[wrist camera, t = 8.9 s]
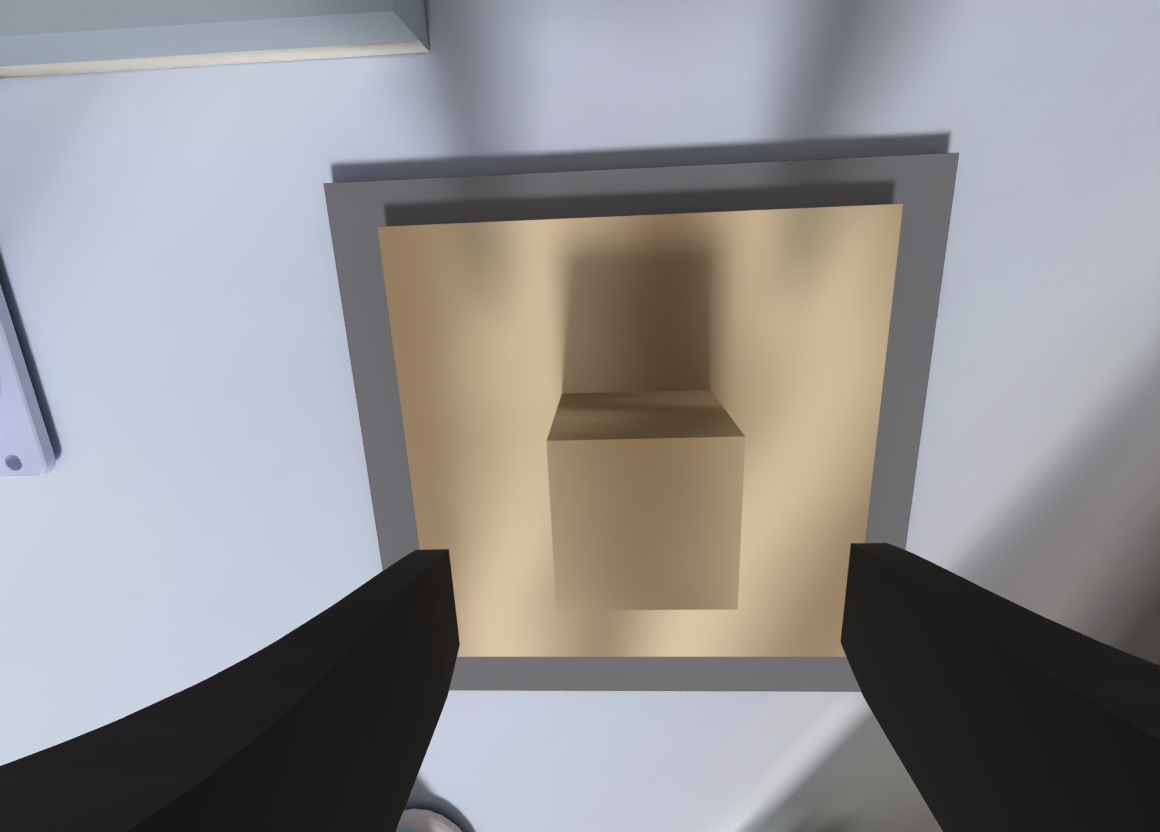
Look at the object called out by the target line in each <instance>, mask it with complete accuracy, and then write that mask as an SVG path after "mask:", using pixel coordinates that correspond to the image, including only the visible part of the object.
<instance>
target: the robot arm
mask: <svg viewBox="0 0 1160 832" xmlns="http://www.w3.org/2000/svg"><path fill="white" fill-rule="evenodd" d="M18 458H19V459H20V460H21V462H22V463H21V462H20V460H19V459H18ZM55 464H56V462H55V456H54V453H53V449H52V446H51V443H50V440H49V437H48V434H47V430H46V427H45V424H44V421H43V418H42V415H41V411H40V408H39V405H38V402H37V399H36V396H35V392H34V389H33V386H32V383H31V380H30V377H29V373H28V370H27V367H26V364H25V361H24V358H23V354H22V351H21V348H20V345H19V342H18V339H17V335H16V332H15V329H14V326H13V323H12V320H11V316H10V313H9V310H8V307H7V304H6V301H5V297H4V294H3V291H2V288H1V285H0V478H2V477H37V476H41V475H44V474H46V473H49V472H51V471H52V470H53V469H54V467H55ZM840 642H841V645H842V647H843V650H844V652H845V655H846V657H847V659H848V662H849V664H850V667H851V669H852V672H853V674H854V676H855V678H856V681H857V683H858V685H859V687H860V690H861V692H862V694H863V696H864V698H865V700H866V702H867V703H868V705H869V707H870V709H871V710H872V712H873V714H874V716H875V717H876V719H877V721H878V722H879V724H880V726H881V728H882V729H883V731H884V733H885V734H886V736H887V738H888V740H889V741H890V743H891V745H892V746H893V748H894V750H895V751H896V753H897V755H898V756H899V758H900V760H901V761H902V763H903V765H904V767H905V768H906V770H907V772H908V773H909V775H910V777H911V778H912V780H913V782H914V783H915V785H916V787H917V788H918V790H919V792H920V793H921V795H922V797H923V799H924V800H925V802H926V804H927V805H928V807H929V809H930V810H931V812H932V814H933V815H934V817H935V819H936V820H937V822H938V824H939V825H940V827H941V829H942V830H943V832H1160V666H1159V665H1156V664H1154V663H1151V662H1149V661H1146V660H1143V659H1141V658H1138V657H1136V656H1133V655H1130V654H1128V653H1125V652H1123V651H1121V650H1118V649H1116V648H1113V647H1111V646H1108V645H1106V644H1104V643H1101V642H1099V641H1097V640H1094V639H1092V638H1090V637H1087V636H1085V635H1083V634H1081V633H1078V632H1076V631H1074V630H1072V629H1069V628H1067V627H1065V626H1063V625H1061V624H1058V623H1056V622H1054V621H1052V620H1049V619H1047V618H1045V617H1043V616H1041V615H1038V614H1036V613H1034V612H1032V611H1030V610H1028V609H1026V608H1023V607H1021V606H1019V605H1017V604H1015V603H1013V602H1011V601H1009V600H1007V599H1005V598H1003V597H1001V596H999V595H996V594H994V593H992V592H990V591H988V590H986V589H984V588H982V587H980V586H978V585H976V584H974V583H972V582H970V581H968V580H966V579H964V578H962V577H960V576H958V575H956V574H954V573H952V572H950V571H948V570H946V569H944V568H942V567H940V566H938V565H936V564H934V563H932V562H930V561H928V560H925V559H923V558H921V557H919V556H917V555H915V554H913V553H910V552H908V551H906V550H904V549H901V548H899V547H896V546H894V545H891V544H888V543H851V547H850V557H849V566H848V575H847V585H846V594H845V604H844V613H843V623H842V632H841V641H840ZM459 646H460V641H459V633H458V624H457V615H456V607H455V598H454V589H453V581H452V572H451V563H450V555H449V549H429V550H415V551H413V552H411V553H409V554H408V555H406V556H404V557H403V558H401V559H400V560H398V561H397V562H395V563H394V564H392V565H391V566H389V567H388V568H387V569H385V570H384V571H382V572H381V573H379V574H378V575H376V576H375V577H374V578H372V579H371V580H369V581H368V582H366V583H365V584H363V585H362V586H361V587H359V588H358V589H356V590H355V591H353V592H352V593H350V594H349V595H347V596H346V597H345V598H343V599H342V600H340V601H339V602H337V603H336V604H334V605H333V606H331V607H330V608H328V609H327V610H325V611H323V612H322V613H320V614H319V615H317V616H316V617H314V618H312V619H311V620H309V621H308V622H306V623H304V624H303V625H301V626H300V627H298V628H297V629H295V630H293V631H292V632H290V633H289V634H287V635H285V636H284V637H282V638H281V639H279V640H277V641H276V642H274V643H272V644H271V645H269V646H267V647H265V648H264V649H262V650H260V651H258V652H257V653H255V654H253V655H251V656H249V657H248V658H246V659H244V660H242V661H240V662H238V663H236V664H235V665H233V666H231V667H229V668H227V669H225V670H223V671H221V672H219V673H217V674H216V675H214V676H212V677H210V678H208V679H206V680H204V681H202V682H200V683H198V684H196V685H194V686H192V687H189V688H187V689H185V690H183V691H181V692H178V693H176V694H174V695H172V696H170V697H168V698H165V699H163V700H161V701H159V702H157V703H154V704H152V705H150V706H148V707H146V708H143V709H141V710H139V711H137V712H135V713H133V714H130V715H128V716H126V717H124V718H122V719H119V720H117V721H115V722H112V723H110V724H108V725H105V726H103V727H100V728H98V729H95V730H93V731H90V732H88V733H85V734H83V735H81V736H78V737H76V738H73V739H71V740H68V741H66V742H63V743H61V744H58V745H55V746H53V747H50V748H47V749H45V750H42V751H39V752H37V753H34V754H32V755H29V756H26V757H24V758H21V759H18V760H16V761H13V762H10V763H8V764H5V765H2V766H0V832H396V830H397V827H398V824H399V821H400V819H401V816H402V814H403V811H404V808H405V806H406V803H407V801H408V798H409V795H410V793H411V790H412V788H413V785H414V783H415V780H416V777H417V775H418V772H419V770H420V767H421V764H422V762H423V759H424V757H425V754H426V752H427V749H428V746H429V744H430V741H431V739H432V736H433V733H434V731H435V728H436V725H437V723H438V720H439V717H440V715H441V712H442V709H443V707H444V704H445V701H446V699H447V695H448V692H449V688H450V684H451V680H452V676H453V672H454V668H455V663H456V659H457V655H458V650H459Z"/></svg>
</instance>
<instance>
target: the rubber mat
mask: <svg viewBox="0 0 1160 832" xmlns="http://www.w3.org/2000/svg"><path fill="white" fill-rule="evenodd" d="M958 157H959V153H942V154H922V155H901V156H880V157H860V158H839V159H818V160H798V161H777V162H756V163H736V164H715V165H694V166H674V167H653V168H632V169H612V170H591V171H570V172H550V173H529V174H508V175H488V176H467V177H446V178H426V179H405V180H384V181H364V182H343V183H323V184H324V190H325V197H326V203H327V210H328V216H329V223H330V229H331V236H332V242H333V249H334V255H335V262H336V268H337V275H338V282H339V288H340V295H341V301H342V308H343V314H344V321H345V327H346V334H347V340H348V347H349V353H350V360H351V366H352V373H353V379H354V386H355V393H356V399H357V406H358V412H359V419H360V425H361V432H362V438H363V445H364V451H365V458H366V464H367V471H368V477H369V484H370V490H371V497H372V504H373V510H374V517H375V523H376V530H377V536H378V543H379V549H380V556H381V562H382V569H383V571H384V570H385V569H387V568H388V567H389V566H391V565H392V564H394V563H395V562H397V561H398V560H400V559H401V558H403V557H404V556H406V555H408V554H409V553H411V552H413V551H415V550H420V548H419V540H418V533H417V525H416V517H415V510H414V502H413V494H412V487H411V479H410V472H409V464H408V456H407V449H406V441H405V434H404V426H403V418H402V411H401V403H400V396H399V388H398V380H397V373H396V365H395V357H394V350H393V342H392V335H391V327H390V319H389V312H388V304H387V297H386V289H385V281H384V274H383V266H382V259H381V251H380V243H379V236H378V228H377V227H386V226H409V225H432V224H455V223H477V222H500V221H523V220H546V219H568V218H591V217H614V216H637V215H659V214H682V213H705V212H728V211H750V210H773V209H796V208H818V207H841V206H864V205H887V204H903V210H902V219H901V228H900V237H899V246H898V254H897V263H896V272H895V281H894V290H893V299H892V308H891V316H890V325H889V334H888V343H887V352H886V361H885V370H884V378H883V387H882V396H881V405H880V414H879V423H878V432H877V441H876V449H875V458H874V467H873V476H872V485H871V494H870V503H869V511H868V520H867V529H866V538H865V543H888V544H891V545H894V546H896V547H899V548H901V549H904V550H905V548H906V540H907V533H908V526H909V518H910V511H911V504H912V496H913V489H914V482H915V474H916V467H917V459H918V452H919V445H920V437H921V430H922V423H923V415H924V408H925V400H926V393H927V386H928V378H929V371H930V364H931V356H932V349H933V341H934V334H935V327H936V319H937V312H938V305H939V297H940V290H941V283H942V275H943V268H944V260H945V253H946V246H947V238H948V231H949V224H950V216H951V209H952V201H953V194H954V187H955V179H956V172H957V165H958ZM449 690H529V691H827V692H861V690H860V687H859V685H858V683H857V681H856V678H855V676H854V674H853V672H852V669H851V667H850V664H849V662H848V659H847V657H457V659H456V663H455V668H454V672H453V676H452V680H451V684H450V688H449Z"/></svg>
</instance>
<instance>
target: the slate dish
mask: <svg viewBox="0 0 1160 832" xmlns="http://www.w3.org/2000/svg"><path fill="white" fill-rule="evenodd" d="M422 52H429V42H428V32H427V22H426V12H425V1H424V0H0V78H13V77H29V76H46V75H62V74H78V73H95V72H111V71H127V70H144V69H160V68H177V67H193V66H209V65H226V64H242V63H258V62H275V61H291V60H307V59H324V58H340V57H356V56H373V55H389V54H405V53H422Z"/></svg>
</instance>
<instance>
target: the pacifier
mask: <svg viewBox="0 0 1160 832" xmlns="http://www.w3.org/2000/svg"><path fill="white" fill-rule="evenodd" d="M396 832H462V831H461V830H460V829H459V828H458V826H456V825H455V824H454V823H452V822H451V821H450V820H448V819H447V818H445V817H444V816H442V815H439V814H437V813H435V812H432V811H430V810H424V809H415V808H413V809H408V810H404V811H403V814H402V816H401V819H400V821H399V824H398V827H397V830H396Z"/></svg>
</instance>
